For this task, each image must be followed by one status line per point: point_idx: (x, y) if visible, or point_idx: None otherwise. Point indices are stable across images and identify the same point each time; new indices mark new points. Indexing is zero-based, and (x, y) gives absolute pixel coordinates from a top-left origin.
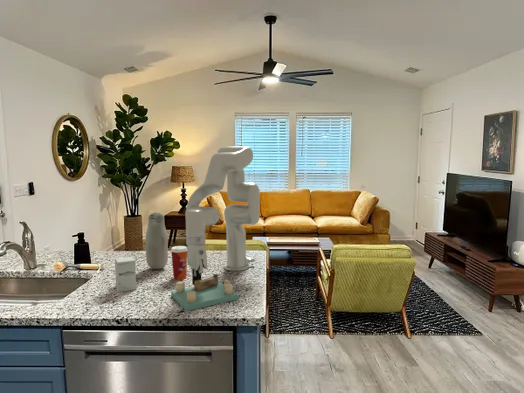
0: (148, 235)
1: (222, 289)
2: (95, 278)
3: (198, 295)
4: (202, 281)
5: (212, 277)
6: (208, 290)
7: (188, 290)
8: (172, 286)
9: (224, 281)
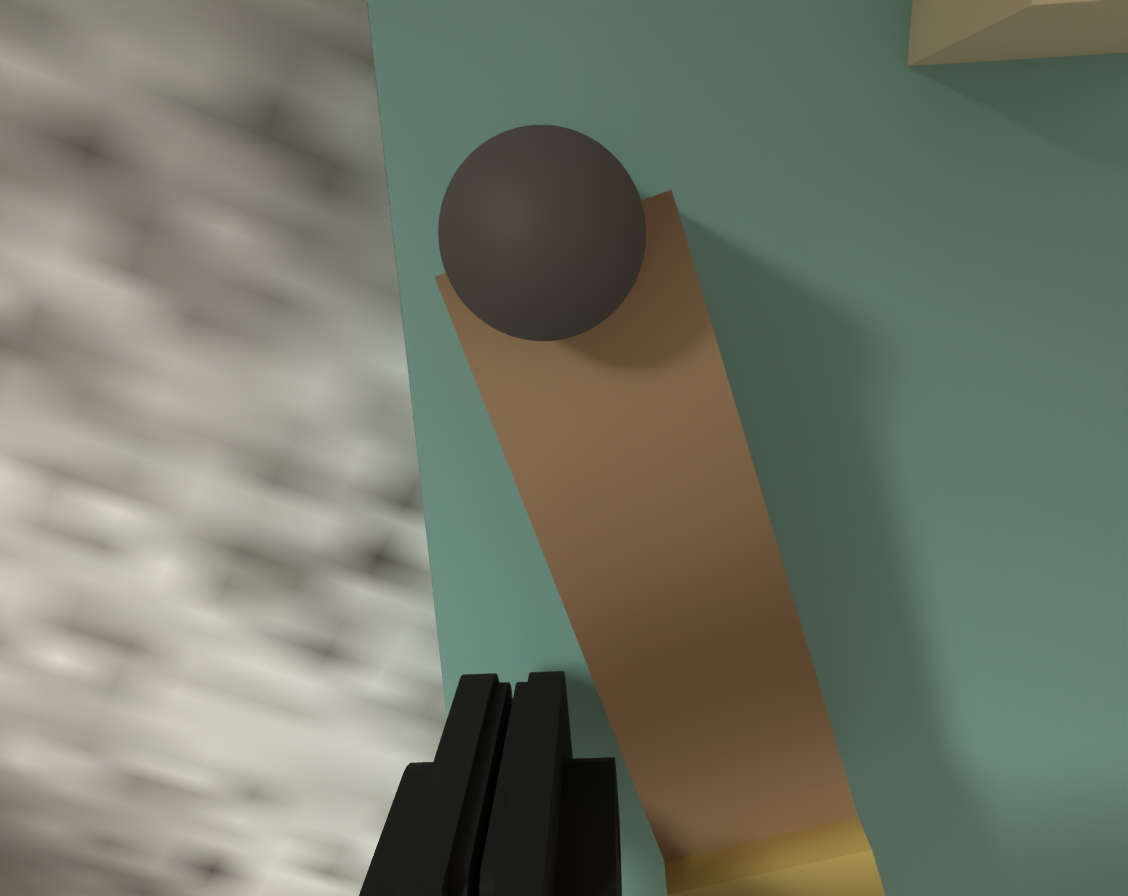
0: None
1: (1052, 205)
2: None
3: (1031, 835)
4: (866, 845)
5: (551, 372)
6: (881, 560)
7: (623, 891)
8: (43, 883)
9: (1017, 21)
